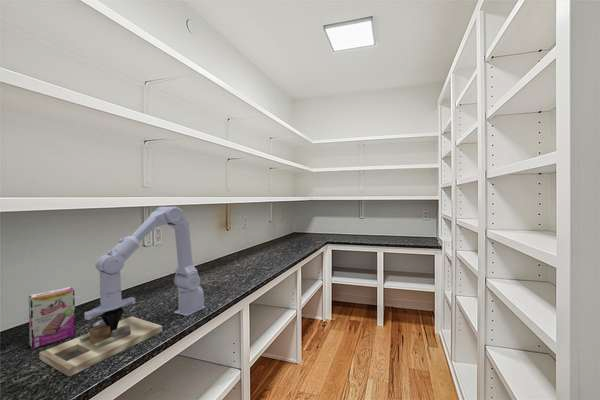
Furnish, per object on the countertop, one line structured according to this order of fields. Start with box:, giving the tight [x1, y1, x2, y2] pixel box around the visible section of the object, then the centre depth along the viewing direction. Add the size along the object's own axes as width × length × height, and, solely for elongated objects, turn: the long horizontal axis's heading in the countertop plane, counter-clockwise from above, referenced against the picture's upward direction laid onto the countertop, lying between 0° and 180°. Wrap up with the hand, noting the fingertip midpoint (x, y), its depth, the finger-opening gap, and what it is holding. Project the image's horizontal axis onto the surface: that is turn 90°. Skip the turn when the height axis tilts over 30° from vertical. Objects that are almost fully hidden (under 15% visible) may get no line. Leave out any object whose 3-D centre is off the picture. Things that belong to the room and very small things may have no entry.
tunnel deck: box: [38, 316, 163, 377], centre depth 90 cm, size 27×18×5 cm, turn 151°
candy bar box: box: [28, 286, 76, 350], centre depth 93 cm, size 11×5×16 cm, turn 141°
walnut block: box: [89, 323, 111, 344], centre depth 88 cm, size 4×4×4 cm
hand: (112, 332), depth 92 cm, fingers closed
